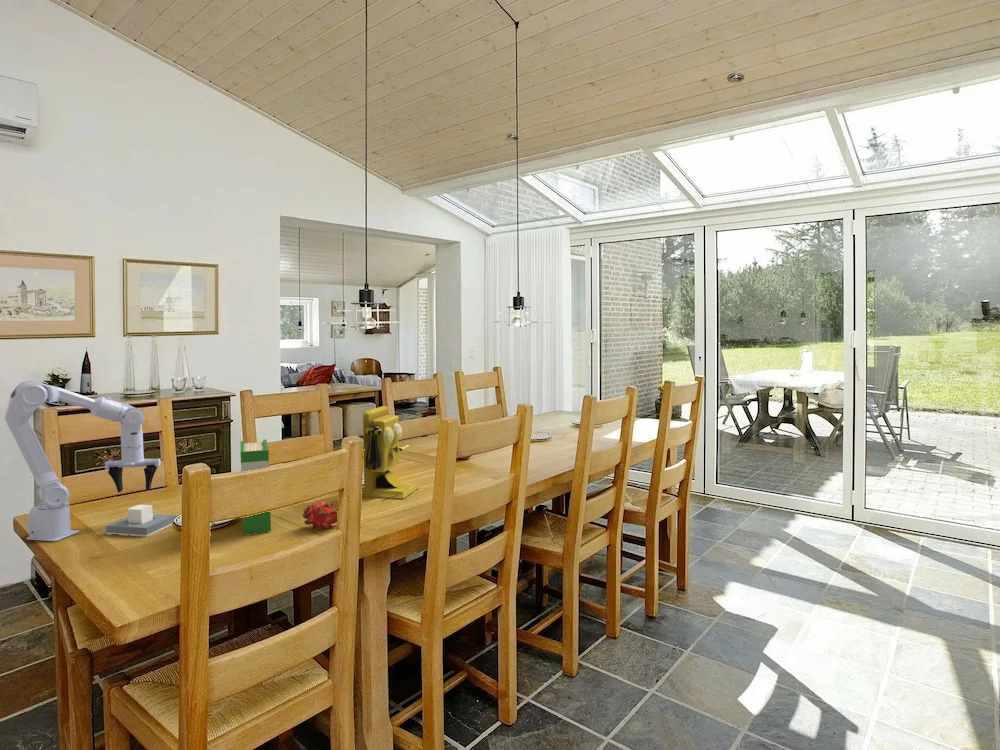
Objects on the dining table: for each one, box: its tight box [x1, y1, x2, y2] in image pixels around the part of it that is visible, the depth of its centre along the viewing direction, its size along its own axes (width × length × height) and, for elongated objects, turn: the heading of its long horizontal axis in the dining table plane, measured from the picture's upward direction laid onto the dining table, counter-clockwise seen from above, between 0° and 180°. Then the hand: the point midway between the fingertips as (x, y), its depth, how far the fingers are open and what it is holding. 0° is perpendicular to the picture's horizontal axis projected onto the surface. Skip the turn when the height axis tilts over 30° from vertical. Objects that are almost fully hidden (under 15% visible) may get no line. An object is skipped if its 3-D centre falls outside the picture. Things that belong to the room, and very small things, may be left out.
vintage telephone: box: [362, 405, 420, 502], centre depth 216 cm, size 31×14×30 cm, turn 167°
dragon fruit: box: [302, 500, 338, 530], centre depth 180 cm, size 8×8×12 cm
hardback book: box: [239, 439, 272, 536], centre depth 182 cm, size 18×7×24 cm, turn 23°
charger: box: [127, 504, 154, 524], centre depth 178 cm, size 4×4×6 cm
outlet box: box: [105, 513, 177, 538], centre depth 179 cm, size 13×12×3 cm
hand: (134, 490), depth 185 cm, fingers open, 7 cm apart
